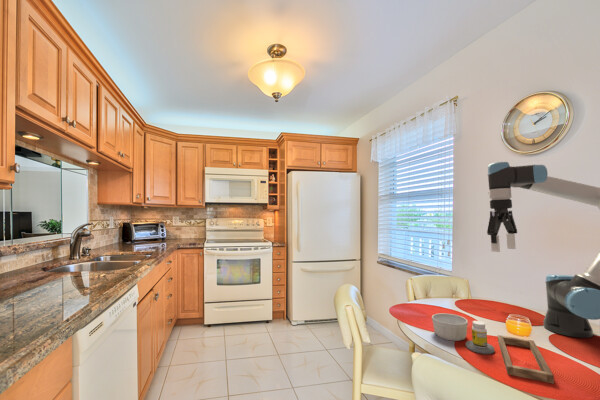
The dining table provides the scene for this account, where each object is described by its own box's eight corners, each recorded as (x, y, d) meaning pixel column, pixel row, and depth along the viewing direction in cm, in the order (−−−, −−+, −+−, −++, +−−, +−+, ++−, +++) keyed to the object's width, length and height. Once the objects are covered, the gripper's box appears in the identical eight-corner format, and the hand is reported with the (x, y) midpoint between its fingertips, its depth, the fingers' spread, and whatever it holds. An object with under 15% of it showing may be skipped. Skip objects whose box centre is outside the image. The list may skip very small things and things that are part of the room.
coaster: (493, 345, 107) (493, 343, 107) (495, 356, 99) (495, 353, 99) (465, 341, 111) (465, 338, 111) (466, 350, 103) (465, 348, 103)
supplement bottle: (471, 341, 108) (470, 319, 109) (486, 344, 106) (485, 321, 107) (473, 347, 104) (472, 323, 104) (488, 349, 102) (487, 325, 102)
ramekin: (425, 332, 120) (424, 315, 121) (447, 327, 126) (446, 311, 126) (453, 345, 108) (452, 326, 109) (476, 338, 113) (475, 321, 114)
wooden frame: (533, 347, 105) (533, 340, 105) (554, 383, 82) (553, 375, 83) (497, 341, 110) (497, 335, 111) (507, 374, 88) (507, 366, 88)
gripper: (504, 200, 129) (507, 247, 127) (475, 199, 116) (478, 251, 115) (524, 199, 122) (527, 248, 121) (495, 198, 109) (499, 253, 108)
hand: (503, 250), depth 118 cm, fingers open, 13 cm apart
